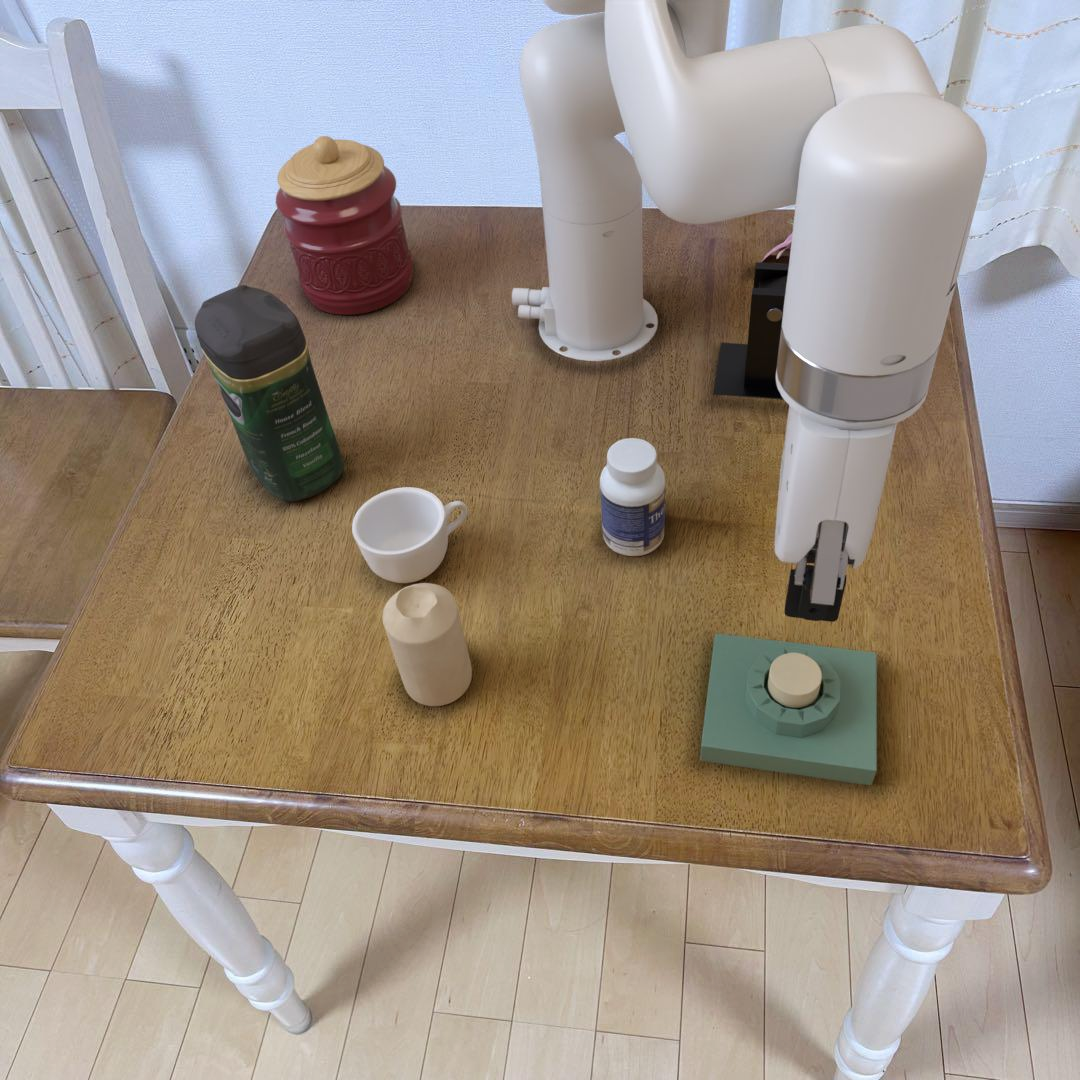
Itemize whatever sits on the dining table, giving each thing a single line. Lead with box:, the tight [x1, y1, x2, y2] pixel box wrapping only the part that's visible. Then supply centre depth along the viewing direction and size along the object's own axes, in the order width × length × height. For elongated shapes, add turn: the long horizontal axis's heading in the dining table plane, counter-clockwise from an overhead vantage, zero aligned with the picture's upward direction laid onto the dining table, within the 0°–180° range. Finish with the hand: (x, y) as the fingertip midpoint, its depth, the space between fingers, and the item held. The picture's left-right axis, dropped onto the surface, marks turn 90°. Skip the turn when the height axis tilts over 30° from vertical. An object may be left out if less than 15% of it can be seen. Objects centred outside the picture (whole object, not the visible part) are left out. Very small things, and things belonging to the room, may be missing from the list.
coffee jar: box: [194, 284, 345, 502], centre depth 91 cm, size 10×8×19 cm
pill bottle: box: [599, 437, 666, 557], centre depth 85 cm, size 5×5×10 cm
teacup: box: [351, 486, 469, 584], centre depth 87 cm, size 10×8×5 cm
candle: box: [381, 582, 473, 707], centre depth 77 cm, size 6×6×10 cm
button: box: [768, 653, 822, 708], centre depth 73 cm, size 4×4×2 cm
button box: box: [699, 632, 878, 786], centre depth 74 cm, size 12×10×4 cm
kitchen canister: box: [275, 135, 414, 316], centre depth 111 cm, size 13×13×18 cm
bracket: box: [712, 261, 789, 401], centre depth 96 cm, size 10×8×12 cm
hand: (812, 585), depth 65 cm, fingers open, 3 cm apart
